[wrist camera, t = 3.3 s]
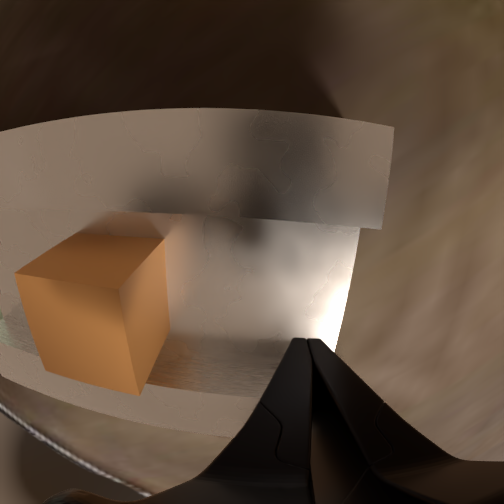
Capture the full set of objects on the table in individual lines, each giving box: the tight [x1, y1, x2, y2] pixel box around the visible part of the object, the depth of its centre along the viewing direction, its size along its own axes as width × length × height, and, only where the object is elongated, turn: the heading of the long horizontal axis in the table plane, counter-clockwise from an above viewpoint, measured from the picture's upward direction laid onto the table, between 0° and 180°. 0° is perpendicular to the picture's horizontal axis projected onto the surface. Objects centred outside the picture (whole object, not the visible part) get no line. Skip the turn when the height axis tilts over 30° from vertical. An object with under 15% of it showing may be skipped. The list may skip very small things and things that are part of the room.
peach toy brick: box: [14, 233, 170, 396], centre depth 10 cm, size 4×4×4 cm
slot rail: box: [0, 108, 394, 437], centre depth 12 cm, size 13×18×5 cm
